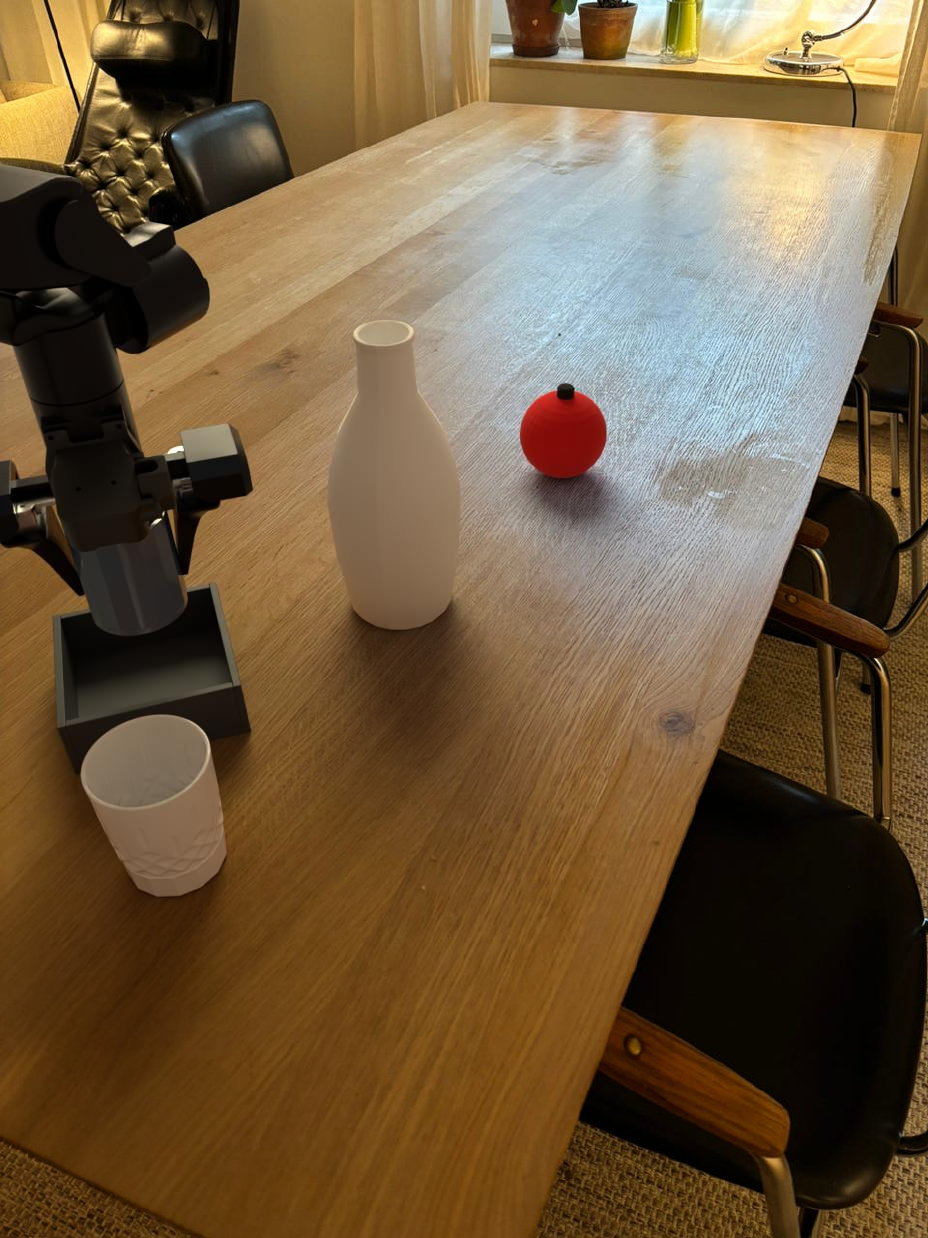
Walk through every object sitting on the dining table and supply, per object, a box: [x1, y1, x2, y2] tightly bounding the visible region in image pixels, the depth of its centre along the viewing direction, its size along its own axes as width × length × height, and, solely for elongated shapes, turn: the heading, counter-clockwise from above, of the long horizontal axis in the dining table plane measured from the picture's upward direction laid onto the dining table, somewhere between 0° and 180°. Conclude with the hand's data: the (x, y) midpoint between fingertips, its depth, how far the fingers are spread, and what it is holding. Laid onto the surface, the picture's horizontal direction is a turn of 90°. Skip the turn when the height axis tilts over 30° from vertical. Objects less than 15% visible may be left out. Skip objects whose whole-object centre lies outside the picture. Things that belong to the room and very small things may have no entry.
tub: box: [52, 581, 252, 775], centre depth 79 cm, size 13×13×5 cm
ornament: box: [519, 382, 608, 479], centre depth 102 cm, size 9×9×10 cm
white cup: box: [80, 715, 228, 898], centre depth 65 cm, size 8×8×10 cm
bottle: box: [326, 319, 462, 631], centre depth 81 cm, size 11×11×25 cm
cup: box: [60, 510, 188, 636], centre depth 70 cm, size 7×7×8 cm
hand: (133, 582), depth 71 cm, fingers closed on cup, 7 cm apart
